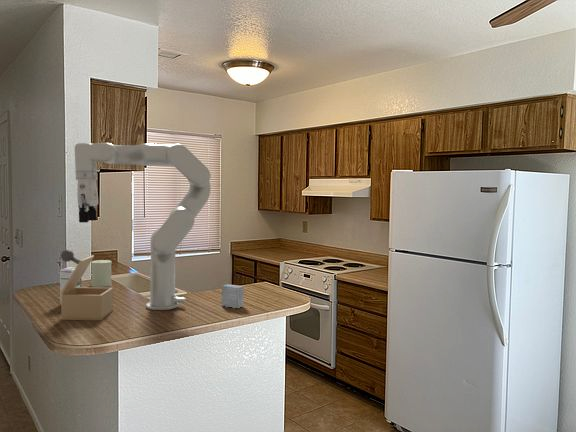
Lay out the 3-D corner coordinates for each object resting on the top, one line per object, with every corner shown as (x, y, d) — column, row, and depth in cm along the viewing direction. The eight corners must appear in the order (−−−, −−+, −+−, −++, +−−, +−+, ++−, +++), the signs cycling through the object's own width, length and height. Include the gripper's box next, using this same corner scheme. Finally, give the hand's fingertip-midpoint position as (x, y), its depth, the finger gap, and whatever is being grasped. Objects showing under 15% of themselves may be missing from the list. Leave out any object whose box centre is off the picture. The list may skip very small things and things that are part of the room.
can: (87, 286, 225) (87, 261, 224) (98, 282, 234) (98, 258, 233) (105, 287, 223) (105, 262, 222) (115, 284, 232) (115, 259, 231)
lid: (94, 255, 181) (73, 243, 181) (81, 261, 168) (58, 247, 168) (75, 287, 182) (54, 274, 181) (61, 294, 169) (38, 281, 168)
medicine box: (243, 307, 194) (244, 286, 194) (238, 309, 190) (238, 288, 190) (227, 304, 198) (227, 284, 197) (221, 306, 194) (221, 285, 193)
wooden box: (112, 310, 183) (112, 287, 183) (101, 320, 170) (101, 295, 170) (75, 310, 182) (75, 287, 182) (61, 319, 169) (61, 294, 169)
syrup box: (72, 306, 188) (72, 269, 188) (59, 304, 190) (59, 268, 189) (81, 302, 194) (81, 267, 193) (69, 301, 195) (69, 266, 194)
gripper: (89, 175, 172) (91, 223, 173) (103, 176, 189) (104, 219, 190) (67, 175, 171) (69, 223, 172) (83, 176, 188) (85, 219, 189)
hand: (88, 221), depth 181 cm, fingers open, 9 cm apart
